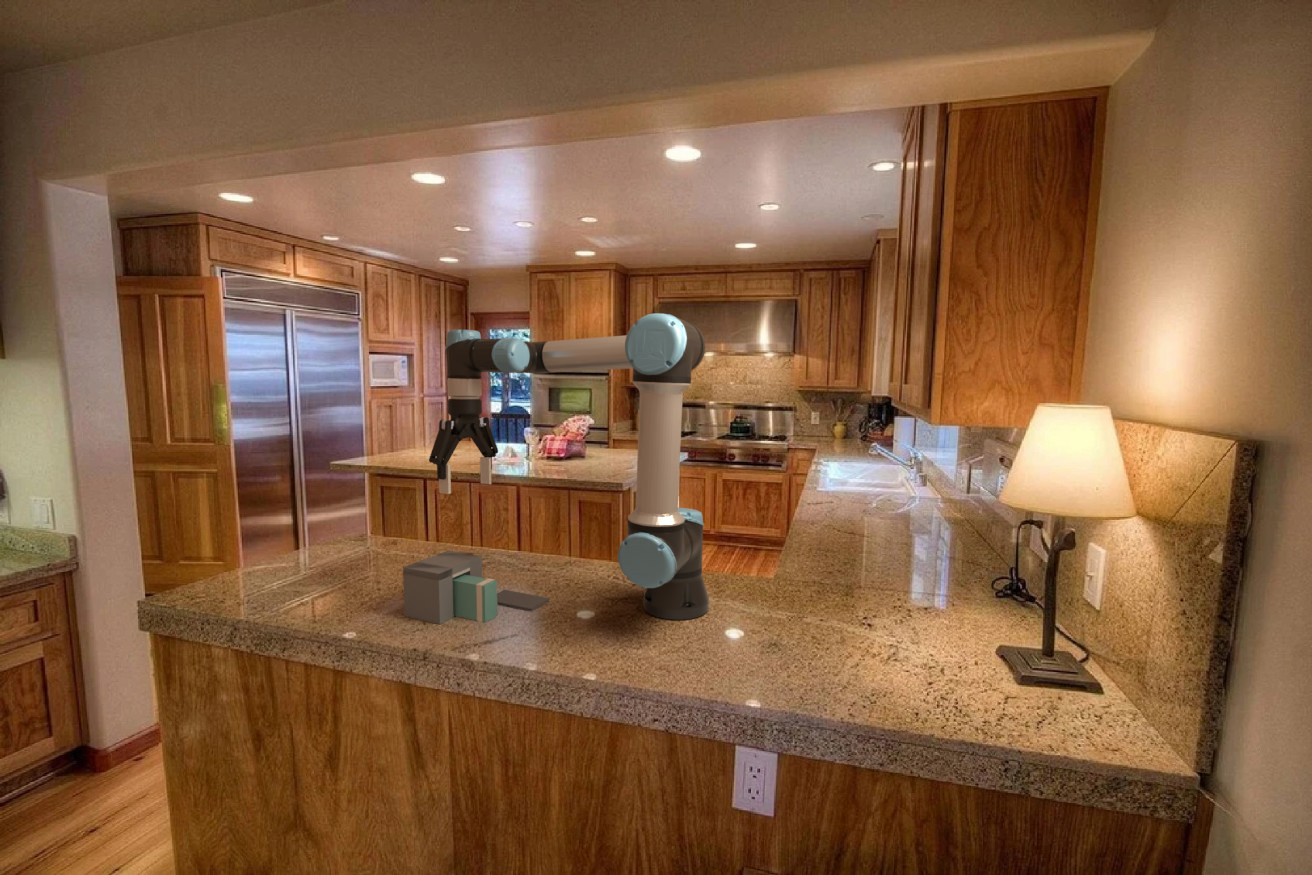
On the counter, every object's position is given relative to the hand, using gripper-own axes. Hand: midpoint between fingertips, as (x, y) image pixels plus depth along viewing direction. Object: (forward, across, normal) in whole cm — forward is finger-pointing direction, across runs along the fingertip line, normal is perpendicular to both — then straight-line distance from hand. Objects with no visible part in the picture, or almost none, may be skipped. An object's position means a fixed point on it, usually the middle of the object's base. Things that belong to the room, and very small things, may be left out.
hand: (466, 488), depth 134 cm
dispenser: (+26, +8, +1) cm, 27 cm away
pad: (+26, -2, +13) cm, 29 cm away
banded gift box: (+26, +8, +8) cm, 29 cm away
